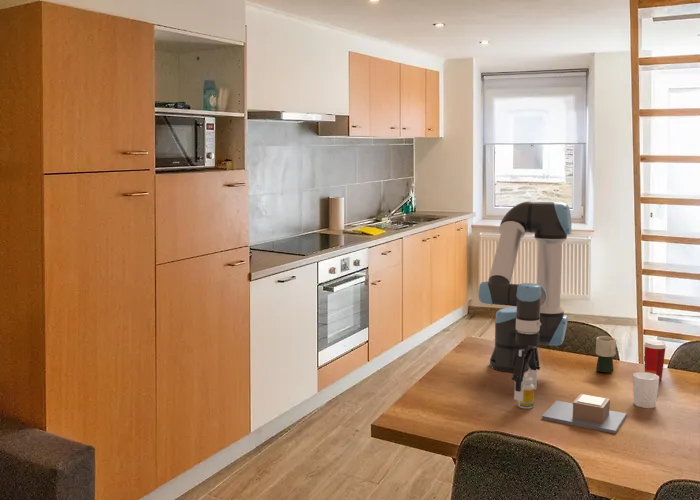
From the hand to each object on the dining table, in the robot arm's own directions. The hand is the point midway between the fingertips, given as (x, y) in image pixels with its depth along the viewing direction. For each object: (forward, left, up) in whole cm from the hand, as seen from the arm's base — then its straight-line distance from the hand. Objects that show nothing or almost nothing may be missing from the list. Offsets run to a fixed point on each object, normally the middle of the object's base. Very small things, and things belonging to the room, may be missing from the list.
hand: (525, 394), depth 224 cm
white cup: (+33, +22, -4) cm, 40 cm away
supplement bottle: (0, 0, -4) cm, 4 cm away
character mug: (+14, +51, -4) cm, 53 cm away
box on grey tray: (+19, 0, -4) cm, 19 cm away
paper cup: (+31, +51, -4) cm, 60 cm away
